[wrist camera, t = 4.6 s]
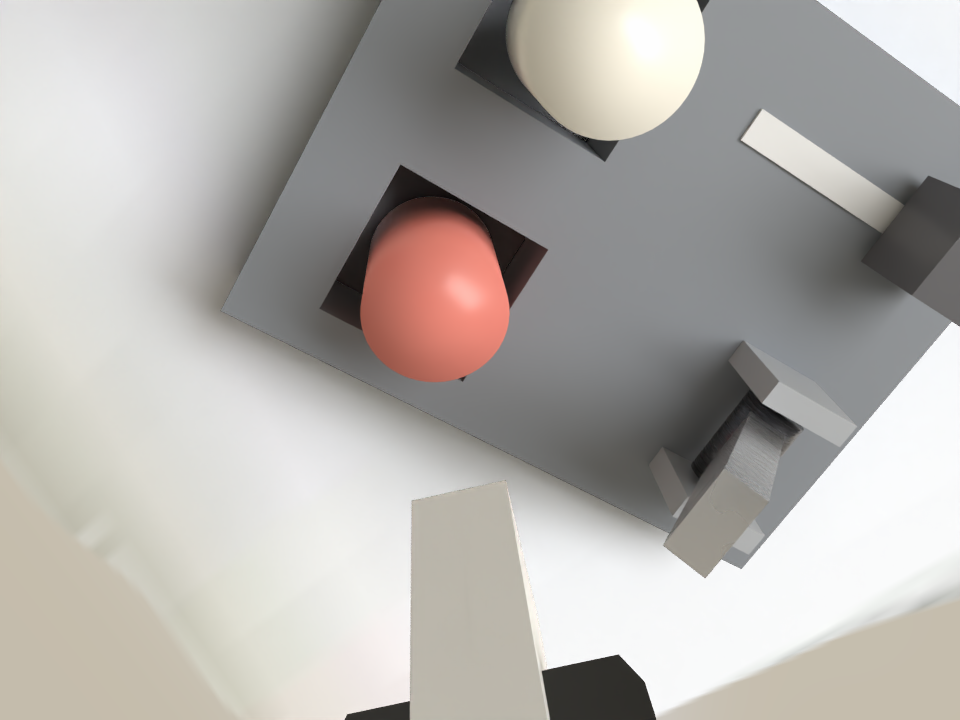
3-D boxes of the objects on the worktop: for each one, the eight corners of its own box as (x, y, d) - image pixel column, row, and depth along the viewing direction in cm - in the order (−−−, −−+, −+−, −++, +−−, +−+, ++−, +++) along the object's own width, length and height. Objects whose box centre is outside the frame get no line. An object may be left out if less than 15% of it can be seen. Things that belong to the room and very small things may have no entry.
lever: (695, 456, 29) (641, 544, 21) (751, 385, 28) (717, 447, 20) (746, 494, 29) (711, 598, 21) (804, 423, 28) (792, 503, 20)
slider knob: (860, 261, 27) (911, 295, 24) (928, 175, 26) (989, 200, 23) (918, 298, 27) (974, 335, 24) (986, 216, 26) (1052, 245, 23)
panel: (238, 277, 29) (197, 351, 24) (491, -210, 24) (514, -261, 18) (715, 520, 34) (771, 626, 29) (1006, 164, 29) (1142, 211, 24)
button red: (347, 280, 28) (333, 341, 24) (407, 172, 27) (406, 215, 22) (454, 336, 29) (461, 405, 25) (517, 236, 28) (537, 288, 24)
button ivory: (478, 59, 24) (493, 82, 20) (557, -79, 23) (592, -89, 18) (597, 134, 25) (637, 172, 21) (678, 6, 24) (740, 16, 20)
